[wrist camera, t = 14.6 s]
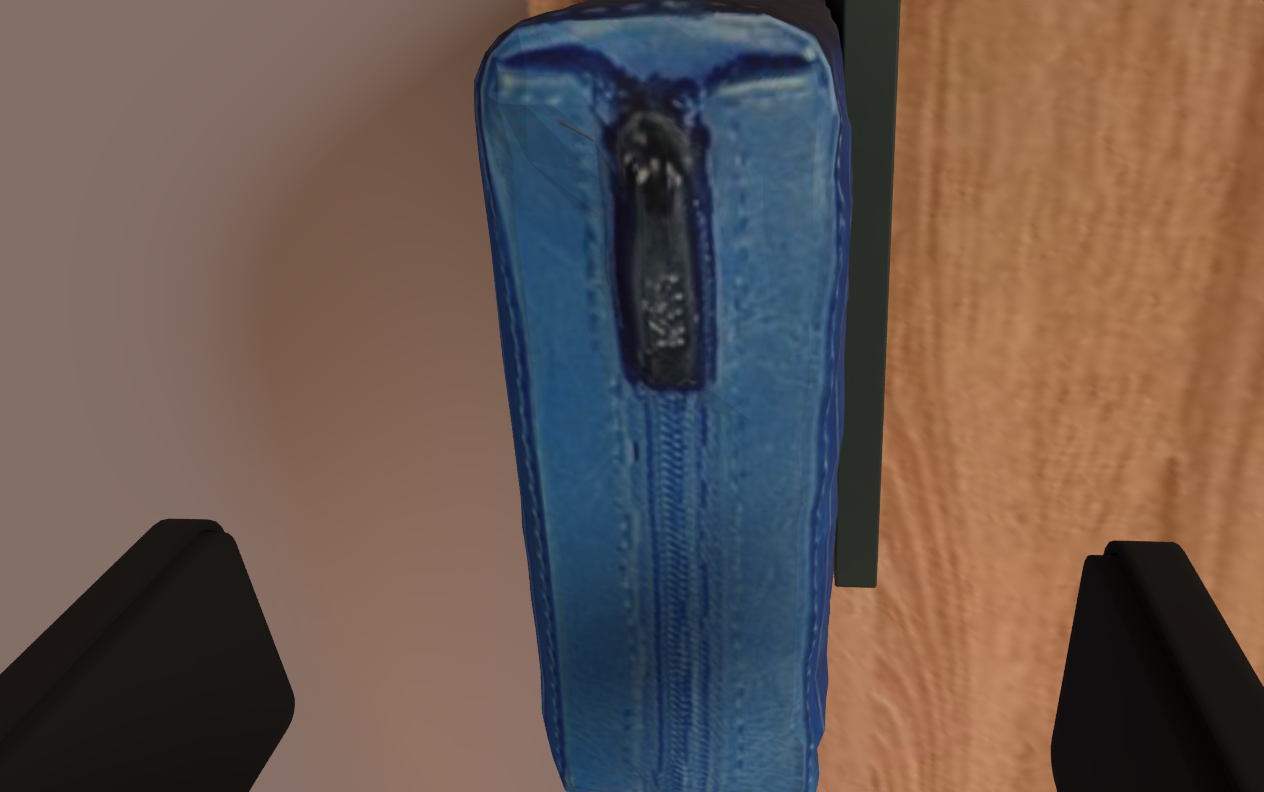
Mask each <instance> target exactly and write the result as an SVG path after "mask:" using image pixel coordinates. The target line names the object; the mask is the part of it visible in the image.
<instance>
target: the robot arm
mask: <svg viewBox="0 0 1264 792" xmlns="http://www.w3.org/2000/svg"><path fill="white" fill-rule="evenodd" d="M294 707H295V698H294V694H293V691H292V688H291V685H290V683H289V680H288V678H287V675H286V672H285V670H284V667H283V664H282V662H281V660H280V657H279V654H278V651H277V649H276V646H275V644H274V641H273V638H272V636H271V633H270V631H269V628H268V625H267V623H266V620H265V617H264V615H263V612H262V610H261V607H260V604H259V602H258V599H257V597H256V594H255V592H254V589H253V586H252V583H251V581H250V579H249V576H248V573H247V570H246V568H245V565H244V563H243V560H242V557H241V555H240V552H239V549H238V547H237V544H236V542H235V540H234V538H233V537H232V536H231V535H230V534H228V533H225V532H224V530H223V528H222V527H221V526H220V525H219V524H218V523H217V522H215V521H212V520H205V519H204V520H203V519H165V520H161V521H159V522H158V523H157V524H155V525H154V526H152V528H150V529H149V530H148V531H147V532H146V533H145V534H144V535H143V536H142V537H141V538H140V539H139V540H138V541H137V542H136V543H135V544H134V545H133V546H132V547H131V548H130V549H129V550H128V551H127V552H126V553H125V554H124V555H123V556H122V557H121V558H120V559H119V560H118V561H116V562H115V563H114V565H112V566H111V567H110V568H109V569H108V570H107V571H106V572H105V573H104V574H103V575H102V576H101V577H100V578H99V579H98V580H97V581H96V582H95V583H94V584H93V585H92V586H91V587H90V588H89V589H88V590H87V591H86V592H85V593H84V594H83V595H81V597H79V598H78V599H77V600H76V601H75V602H74V603H73V604H72V605H71V606H70V607H69V608H68V609H67V610H66V611H65V612H64V613H63V614H62V615H61V616H60V617H59V618H58V619H57V620H56V621H55V622H54V623H53V624H52V625H51V626H50V627H49V628H48V629H47V630H45V631H44V632H43V633H42V634H41V635H40V636H39V637H38V638H37V639H36V640H35V641H34V642H33V643H32V644H31V645H30V646H29V647H28V648H27V649H26V650H25V651H24V652H23V653H22V654H21V655H20V656H19V657H18V658H17V659H16V660H15V661H14V662H13V663H12V664H10V665H9V667H7V668H6V670H4V671H3V672H2V673H1V674H0V792H249V791H250V789H251V787H252V786H253V784H254V782H255V781H256V779H257V778H258V776H259V774H260V773H261V771H262V769H263V768H264V766H265V765H266V763H267V761H268V760H269V758H270V756H271V755H272V753H273V752H274V750H275V748H276V747H277V745H278V743H279V742H280V740H281V739H282V737H283V735H284V734H285V732H286V730H287V729H288V727H289V725H290V723H291V721H292V717H293V714H294ZM1051 764H1052V771H1053V777H1054V781H1055V785H1056V788H1057V792H1264V687H1263V685H1262V684H1261V682H1260V680H1259V678H1258V677H1257V675H1256V673H1255V672H1254V670H1253V668H1252V666H1251V665H1250V663H1249V661H1248V660H1247V658H1246V656H1245V654H1244V653H1243V651H1242V649H1241V648H1240V646H1239V644H1238V643H1237V641H1236V639H1235V637H1234V636H1233V634H1232V632H1231V631H1230V629H1229V627H1228V625H1227V624H1226V622H1225V620H1224V619H1223V617H1222V615H1221V613H1220V612H1219V610H1218V608H1217V607H1216V605H1215V603H1214V601H1213V600H1212V598H1211V596H1210V595H1209V593H1208V591H1207V589H1206V588H1205V586H1204V584H1203V583H1202V581H1201V579H1200V578H1199V576H1198V574H1197V572H1196V571H1195V569H1194V567H1193V566H1192V564H1191V562H1190V560H1189V559H1188V557H1187V555H1186V554H1185V552H1184V551H1183V549H1182V548H1181V547H1180V546H1179V545H1178V544H1176V543H1174V542H1149V541H1111V542H1109V543H1108V545H1107V546H1106V548H1105V551H1104V554H1103V555H1089V556H1087V558H1086V560H1085V562H1084V566H1083V571H1082V576H1081V582H1080V587H1079V593H1078V598H1077V604H1076V609H1075V615H1074V620H1073V626H1072V631H1071V637H1070V642H1069V648H1068V653H1067V659H1066V664H1065V670H1064V675H1063V681H1062V686H1061V692H1060V697H1059V703H1058V708H1057V714H1056V719H1055V725H1054V730H1053V736H1052V742H1051Z"/></svg>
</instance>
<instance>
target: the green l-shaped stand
mask: <svg viewBox="0 0 1264 792" xmlns="http://www.w3.org/2000/svg"><path fill="white" fill-rule="evenodd" d="M900 4H901V0H825V5H826V7H827V8H829V9H830V14H831V18H832V20H833V21H834V22H835V24H836V25H837V29H838V33H839V39H840V45H841V52H842V59H843V72H844V84H845V97H846V106H847V116H848V119H849V122H850V124H851V165H852V176H853V181H852V192H853V209H852V221H851V233H850V245H849V270H848V277H849V296H848V301H847V312H846V335H845V351H844V383H845V409H844V431H843V439H842V444H841V448H840V456H839V465H838V474H837V482H838V516H837V521H836V532H835V545H834V558H833V563H834V580H835V586H837V587H862V588H875V587H876V586H877V563H878V539H879V515H880V490H881V466H882V442H883V417H884V393H885V369H886V344H887V320H888V296H889V271H890V247H891V223H892V199H893V174H894V150H895V126H896V101H897V77H898V53H899V28H900Z"/></svg>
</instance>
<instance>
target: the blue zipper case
mask: <svg viewBox="0 0 1264 792" xmlns="http://www.w3.org/2000/svg"><path fill="white" fill-rule="evenodd" d="M474 99H475V100H474V102H475V121H476V131H477V141H478V151H479V160H480V168H481V176H482V183H483V189H484V190H483V191H484V198H485V205H486V213H487V220H488V228H489V234H490V243H491V251H492V262H493V271H494V281H495V290H496V300H497V309H498V319H499V328H500V338H501V347H502V357H503V363H504V371H505V378H506V386H507V393H508V401H509V409H510V416H511V423H512V431H513V438H514V446H515V455H516V463H517V471H518V479H519V486H520V494H521V509H522V528H523V534H524V540H525V547H526V553H527V560H528V570H529V580H530V590H531V601H532V607H533V614H534V620H535V627H536V635H537V644H538V652H539V661H540V669H541V690H542V691H541V694H542V714H543V718H544V723H545V727H546V732H547V736H548V740H549V744H550V748H551V752H552V755H553V759H554V762H555V764H556V767H557V770H558V772H559V775H560V778H561V780H562V783H563V786H564V788H565V790H566V791H567V792H816V789H817V786H818V780H819V764H818V753H817V748H818V745H819V743H820V741H821V738H822V736H823V733H824V731H825V708H826V696H827V688H828V666H827V639H828V624H829V614H830V597H831V590H832V582H833V574H834V563H833V558H834V545H835V532H836V521H837V516H838V482H837V474H838V465H839V456H840V448H841V444H842V439H843V431H844V409H845V383H844V351H845V335H846V312H847V301H848V296H849V277H848V270H849V245H850V233H851V221H852V209H853V192H852V181H853V176H852V165H851V124H850V122H849V119H848V116H847V106H846V97H845V84H844V72H843V59H842V52H841V45H840V39H839V33H838V29H837V25H836V24H835V22H834V21H833V20H832V18H831V14H830V9H829V8H827V7H826V5H825V0H588V1H585V2H582V3H579V4H576V5H573V6H569V7H567V8H564V9H560V10H555V11H551V12H546V13H543V14H540V15H537V16H534V17H531V18H528V19H525V20H522V21H520V22H518V23H517V24H515V25H514V26H512V27H511V28H509V29H508V30H506V31H505V32H503V33H502V34H501V35H499V36H498V38H497V39H496V40H495V41H494V43H493V44H492V45H491V46H490V48H489V49H488V50H487V52H486V53H485V55H484V57H483V60H482V62H481V65H480V67H479V70H478V72H477V75H476V78H475V80H474Z"/></svg>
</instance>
